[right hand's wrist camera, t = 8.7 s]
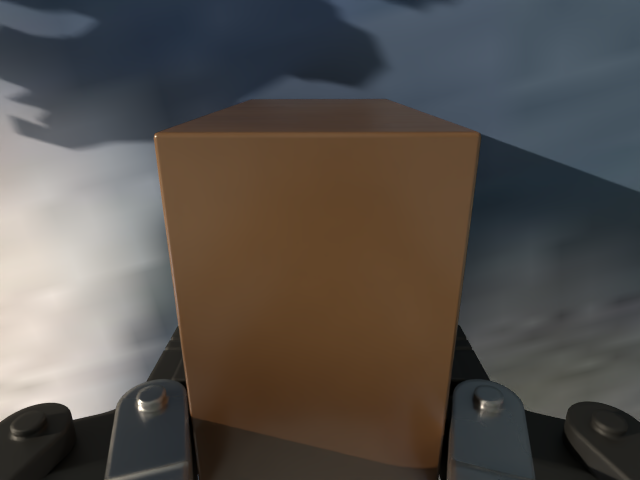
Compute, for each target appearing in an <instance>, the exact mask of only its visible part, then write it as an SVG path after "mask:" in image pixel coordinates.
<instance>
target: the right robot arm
mask: <svg viewBox="0 0 640 480" xmlns="http://www.w3.org/2000/svg"><path fill="white" fill-rule="evenodd" d="M439 475H440V478H441V480H640V422H639V421H637V420H636V419H635V418H633V417H632V416H630V415H629V414H627V413H625V412H623V411H621V410H619V409H617V408H615V407H612V406H609V405H606V404H602V403H597V402H579V403H576V404H574V405H572V406H571V407H570V408H569V409H568V412H567V416H566V420H564V419H560V418H555V417H551V416H546V415H542V414H538V413H534V412H530V411H527V410H524V406H523V403H522V402H521V400H520V399H519V397H518V396H517V395H516V394H515V393H514V392H512V391H511V390H510V389H508V388H506V387H505V386H503V385H501V384H498V383H495V382H492V381H490V379H489V378H488V376H487V374H486V372H485V370H484V369H483V367H482V365H481V363H480V361H479V360H478V358H477V356H476V354H475V352H474V351H473V350H472V347H471V345H470V343H469V342H468V340H466V336H465V334H464V333H463V331H462V329H461V327H460V326H459V325H458V327H457V335H456V342H455V350H454V358H453V366H452V374H451V382H450V390H449V398H448V406H447V414H446V422H445V430H444V438H443V446H442V454H441V462H440V470H439ZM0 480H198V469H197V461H196V454H195V446H194V438H193V431H192V423H191V416H190V408H189V401H188V393H187V385H186V378H185V370H184V363H183V355H182V348H181V340H180V332H179V326H178V327H177V328H176V330H175V332H174V334H173V336H172V337H171V341H169V343H168V344H167V346H166V349H165V350H164V351H163V353H162V355H161V357H160V359H159V360H158V362H157V364H156V366H155V367H154V369H153V371H152V373H151V374H150V376H149V378H148V380H147V382H145V383H142V384H139V385H137V386H135V387H134V388H132V389H130V390H129V391H128V392H126V393H125V394H124V395H123V396H122V397H121V399H120V400H119V402H118V403H117V406H116V409H114V410H111V411H109V412H105V413H102V414H98V415H93V416H89V417H84V418H80V419H75V420H73V419H72V415H71V412H70V410H69V409H68V407H66V406H64V405H62V404H58V403H42V404H37V405H33V406H30V407H27V408H24V409H22V410H20V411H18V412H15V413H14V414H12V415H10V416H8V417H7V418H6V419H4V420H3V421H1V422H0Z"/></svg>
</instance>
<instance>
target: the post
mask: <svg viewBox="0 0 640 480" xmlns="http://www.w3.org/2000/svg"><path fill="white" fill-rule="evenodd" d="M154 143H155V151H156V158H157V166H158V173H159V181H160V189H161V196H162V204H163V211H164V219H165V226H166V234H167V242H168V249H169V257H170V264H171V272H172V279H173V287H174V295H175V302H176V310H177V317H178V325H179V332H180V340H181V348H182V355H183V363H184V370H185V378H186V385H187V393H188V401H189V408H190V416H191V423H192V431H193V438H194V446H195V454H196V461H197V469H198V476H199V480H438V478H439V470H440V462H441V454H442V446H443V438H444V430H445V422H446V414H447V406H448V398H449V390H450V382H451V374H452V366H453V358H454V350H455V342H456V335H457V327H458V319H459V311H460V303H461V295H462V287H463V279H464V271H465V263H466V255H467V247H468V239H469V231H470V223H471V215H472V207H473V199H474V191H475V183H476V175H477V167H478V159H479V152H480V144H481V134H480V133H479V132H476V131H474V130H471V129H468V128H465V127H463V126H460V125H457V124H454V123H451V122H449V121H446V120H443V119H440V118H437V117H435V116H432V115H429V114H426V113H424V112H421V111H418V110H415V109H412V108H410V107H407V106H404V105H401V104H398V103H396V102H393V101H390V100H387V99H251V100H248V101H245V102H242V103H240V104H237V105H234V106H231V107H228V108H225V109H222V110H220V111H217V112H214V113H211V114H208V115H205V116H202V117H200V118H197V119H194V120H191V121H188V122H185V123H183V124H180V125H177V126H174V127H171V128H168V129H165V130H163V131H160V132H157V133H155V135H154Z"/></svg>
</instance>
